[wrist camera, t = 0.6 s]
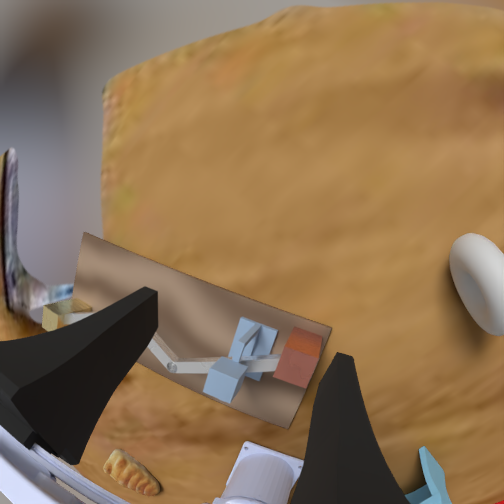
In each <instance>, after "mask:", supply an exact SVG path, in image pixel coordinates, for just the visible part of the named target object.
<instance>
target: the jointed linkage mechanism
mask: <svg viewBox="0 0 504 504" xmlns="http://www.w3.org/2000/svg"><path fill="white" fill-rule="evenodd" d="M97 312H98V311H97ZM94 313H96V312H92V306H90V305H88V304H87V303H85V302H83V301H82V300H80V299H78V298H75V299H71V300H66V301H61V302H57V303H52V304H47V305H44V307H43V320H42V327H43V328H44V329H46V330H47V331H48V332H49V331H53V330H56V329H59V328H61V327H64V326H67V325H70V324H72V323H74V322H77V321H79V320H81V319H83V318H86V317H88V316H90V315H92V314H94ZM321 342H322V336H321V335H318V334H315V333H312V332H309V331H306V330H303V329H301V328H298V327H295V326H294V328H293V330H292V332H291V334H290V336H289V338H288V340H287V342H286V344H285V346H284V349H283V351H282V354H271V355H256V356H242V357H241V360H240V364H242V365H245V366H247V367H248V368H247V371H246V373H249V372H269V371H275V372H274V375H273V377H275V378H278V379H280V380H283V381H286V382H289V383H291V384H294V385H297V386H300V387H303V388H306V387H307V385H308V383H309V380H310V378H311V376H312V373H313V371H314V369H315V366H316V364H317V361H318V359H319V354H320V348H321ZM147 347H148V348H149V349H150V350H151V352H152V353H153V354H154V355H155V356H156V357H157V358H158V360H159V361H160V362H161V363H162V364H163V365H164V366H165V367H166V369H167V370H168V371H169V372H171V373H209V369H210V367H211V366H212V365H213V364H214V363H216V362H217V361H218V360H219V359H220V358H221V357H212V358H178V357H177V355H176V354H175V353H174V352H173V351H172V350H171V349H170V348H169V347H168V345H167V344H166V343H165V342H164V341H163V340H162V339H161V338H160V336H159V335H158V334H157V333H156V332H155V334H154V336H153V338H152V340H151V341H150V343H149V345H148V346H147ZM225 358H228V359H230V360H232V358H233V357H225Z"/></svg>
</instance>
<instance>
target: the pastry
mask: <svg viewBox="0 0 504 504" xmlns="http://www.w3.org/2000/svg"><path fill="white" fill-rule="evenodd" d="M103 468H104V472H105V473H106V474H109V475H110V476H111V477H112V478H113V479H115V481H116V482H118V483H119V484H120V485H121V486H123V487H126V488H129V489H132V490H134V491H136V492H137V493H140V494H143V495H147V496H154V495H156V494H157V493H159V491H160V486H159V483H158V481H157V480H156V479H155V478H154V477H153V476H152V475H151V474H150V473H149V472H148V470H147V469H146V468H145V467H144V466H143V465H141V464H140V463H139V462H138V461H136V460H135V459H134V458H133V457H132V456H130V455H129V454H128V453H127V452H125V451H123V450H121V449H115V450H114V451H113V453H112V454H111V455H110V458H109V459H108V460H107V462H106V463H105V465H104V467H103Z"/></svg>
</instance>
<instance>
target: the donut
mask: <svg viewBox="0 0 504 504" xmlns="http://www.w3.org/2000/svg"><path fill="white" fill-rule="evenodd" d="M449 262H450V270H451V274H452V278H453V281H454V283H455V286H456V289H457V291H458V293H459V295H460V297H461V300H462V301H463V303H464V305H465V307H466V309H467V310H468V312H469V313H470V315H471V316H472V318H473V319H474V320H475V322H476V323H477V324H478V325H479V326H480V327H481V328H482V329H484V330H485V331H486V332H487V333H489V334H492V335H496V336H503V335H504V254H503V253H502V252H501V251H500V250H499V249H498V248H497V246H496V245H495V244H494V243H493V242H491V241H490V240H488V239H487V238H486V237H484V236H481V235H478V234H474V233H467V234H465V235H463V236H461V237H459V238H458V239H457V240H455V241H454V243H453V245H452V247H451V251H450V255H449Z"/></svg>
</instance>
